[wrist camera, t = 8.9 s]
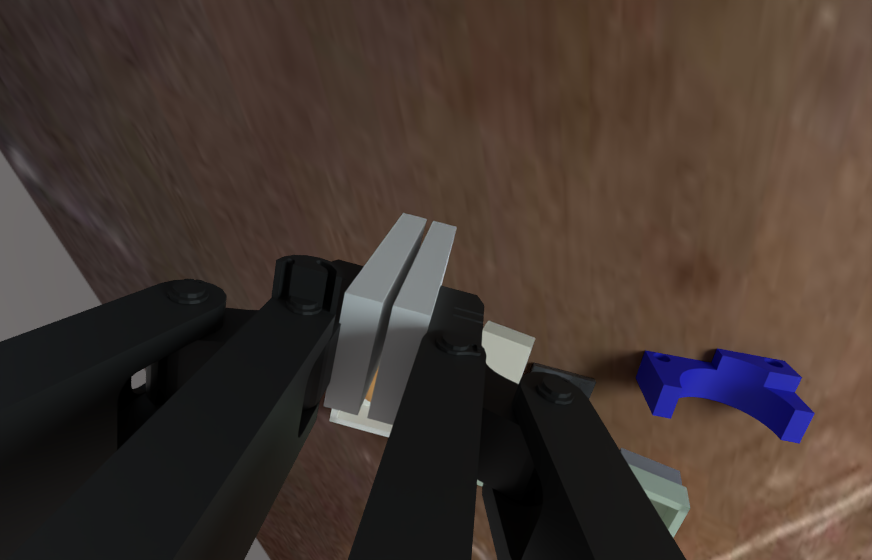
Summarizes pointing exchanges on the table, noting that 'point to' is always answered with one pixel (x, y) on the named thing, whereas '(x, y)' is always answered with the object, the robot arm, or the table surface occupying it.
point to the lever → (656, 479)
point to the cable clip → (728, 387)
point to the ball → (371, 388)
